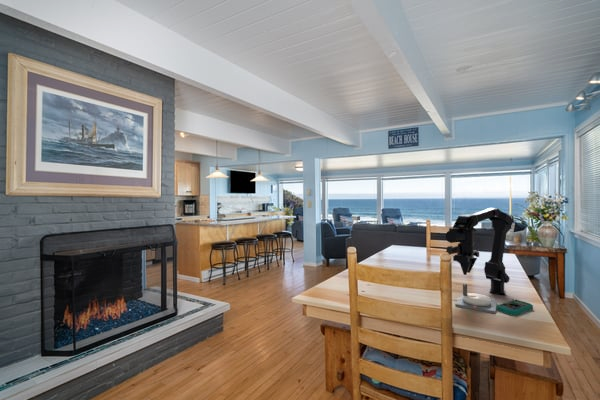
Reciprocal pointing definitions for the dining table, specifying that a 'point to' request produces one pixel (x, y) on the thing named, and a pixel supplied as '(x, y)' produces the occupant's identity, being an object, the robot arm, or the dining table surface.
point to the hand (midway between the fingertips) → (466, 273)
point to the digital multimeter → (514, 307)
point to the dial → (475, 298)
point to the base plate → (489, 308)
